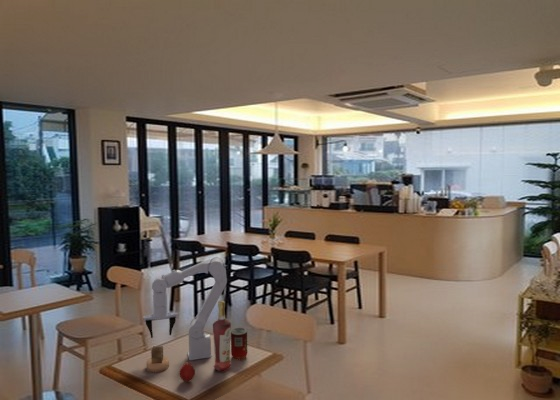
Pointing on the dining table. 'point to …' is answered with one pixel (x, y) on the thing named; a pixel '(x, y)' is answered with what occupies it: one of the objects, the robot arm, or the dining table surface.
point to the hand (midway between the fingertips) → (161, 335)
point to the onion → (187, 372)
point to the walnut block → (157, 354)
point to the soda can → (239, 343)
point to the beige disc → (157, 365)
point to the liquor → (222, 340)
